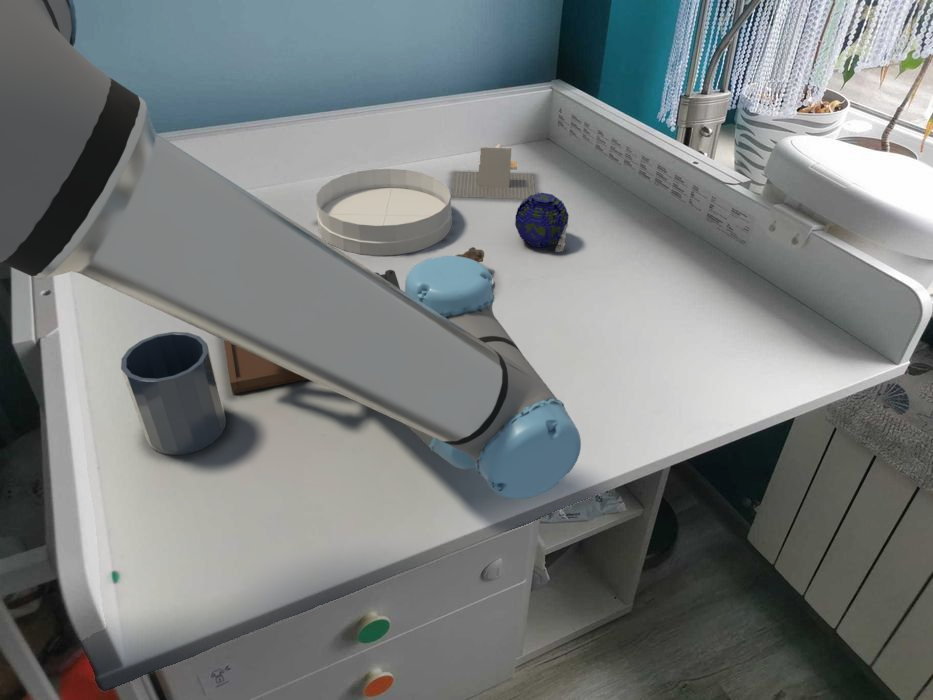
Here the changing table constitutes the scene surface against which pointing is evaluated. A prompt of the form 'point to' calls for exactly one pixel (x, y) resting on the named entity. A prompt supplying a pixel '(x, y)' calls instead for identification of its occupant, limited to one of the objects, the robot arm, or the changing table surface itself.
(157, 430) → the slate cup
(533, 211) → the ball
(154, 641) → the changing table surface
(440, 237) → the dish
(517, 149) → the changing table surface
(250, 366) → the tray
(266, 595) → the changing table surface
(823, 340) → the changing table surface
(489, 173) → the architectural model
